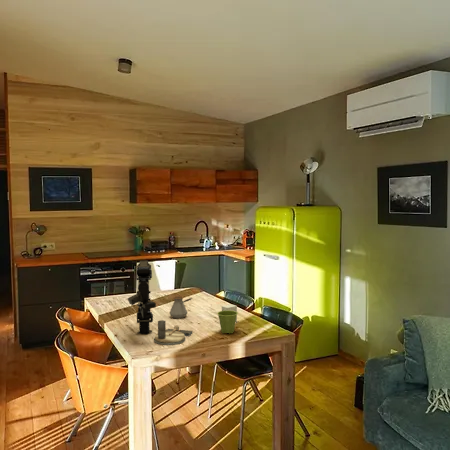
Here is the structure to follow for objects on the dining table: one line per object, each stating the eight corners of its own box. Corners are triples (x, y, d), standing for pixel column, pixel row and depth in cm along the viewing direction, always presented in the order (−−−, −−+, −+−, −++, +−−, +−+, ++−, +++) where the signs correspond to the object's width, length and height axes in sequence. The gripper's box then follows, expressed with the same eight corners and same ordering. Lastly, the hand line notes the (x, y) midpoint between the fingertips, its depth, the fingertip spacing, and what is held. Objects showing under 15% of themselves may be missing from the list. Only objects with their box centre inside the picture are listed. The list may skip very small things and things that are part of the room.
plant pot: (216, 329, 273) (216, 310, 272) (236, 329, 273) (237, 310, 273) (217, 335, 261) (217, 315, 260) (238, 335, 262) (238, 315, 261)
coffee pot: (166, 316, 302) (166, 293, 301) (181, 313, 309) (180, 291, 308) (184, 323, 285) (184, 299, 284) (199, 320, 292) (199, 297, 291)
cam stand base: (166, 331, 269) (166, 328, 268) (194, 334, 264) (194, 330, 263) (148, 343, 247) (148, 340, 247) (178, 346, 242) (178, 343, 242)
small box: (231, 320, 292) (231, 304, 292) (237, 322, 288) (237, 305, 287) (221, 322, 287) (221, 305, 287) (227, 324, 283) (227, 307, 282)
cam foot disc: (164, 330, 267) (164, 312, 266) (191, 332, 264) (190, 313, 263) (150, 341, 246) (150, 322, 245) (179, 343, 243) (179, 323, 242)
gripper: (123, 288, 255) (123, 316, 256) (136, 294, 239) (136, 324, 240) (142, 286, 261) (142, 313, 262) (156, 291, 245) (156, 321, 246)
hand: (144, 317), depth 252 cm, fingers closed
